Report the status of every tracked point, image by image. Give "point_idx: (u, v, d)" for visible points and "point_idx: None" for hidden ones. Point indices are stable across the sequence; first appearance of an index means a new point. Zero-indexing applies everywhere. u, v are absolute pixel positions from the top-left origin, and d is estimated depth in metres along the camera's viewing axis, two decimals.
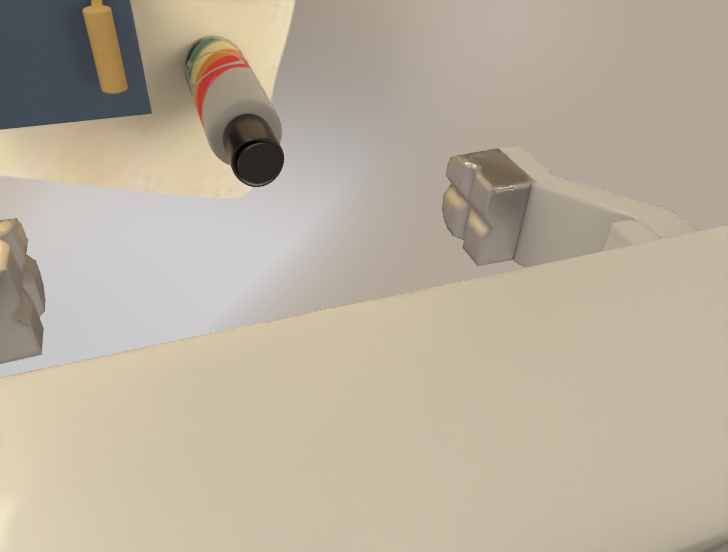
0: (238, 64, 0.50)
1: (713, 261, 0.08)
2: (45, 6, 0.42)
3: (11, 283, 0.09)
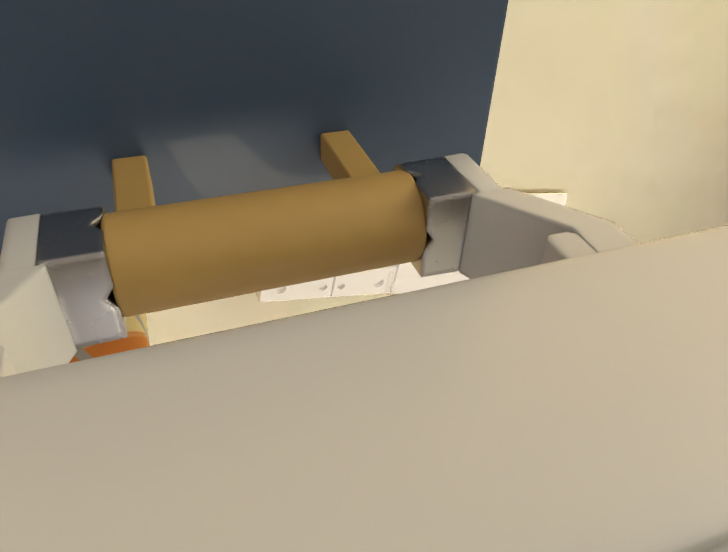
0: None
1: (713, 261, 0.08)
2: None
3: (107, 267, 0.09)
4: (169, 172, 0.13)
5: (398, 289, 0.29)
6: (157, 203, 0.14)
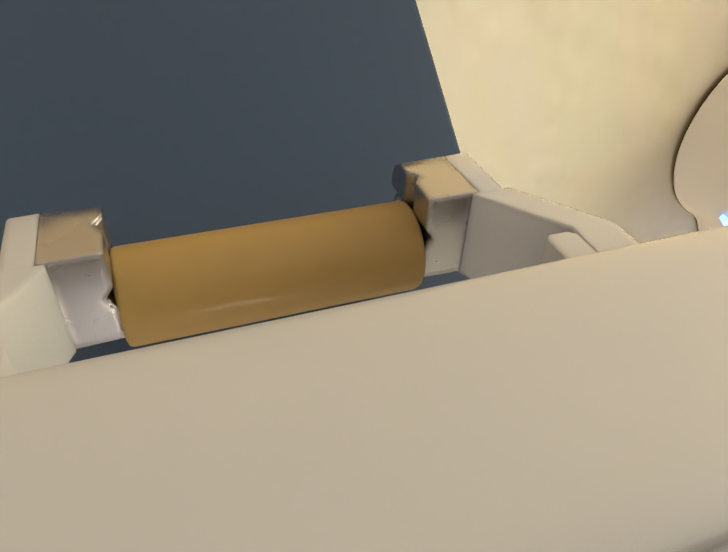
0: None
1: (713, 261, 0.08)
2: (317, 161, 0.16)
3: (106, 267, 0.09)
4: None
5: None
6: None
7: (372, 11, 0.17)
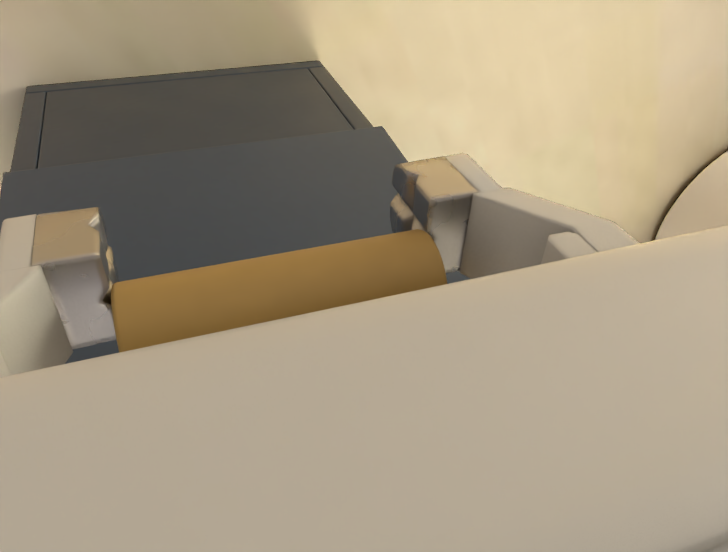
0: None
1: (713, 261, 0.08)
2: None
3: (103, 267, 0.09)
4: None
5: None
6: None
7: (379, 183, 0.20)
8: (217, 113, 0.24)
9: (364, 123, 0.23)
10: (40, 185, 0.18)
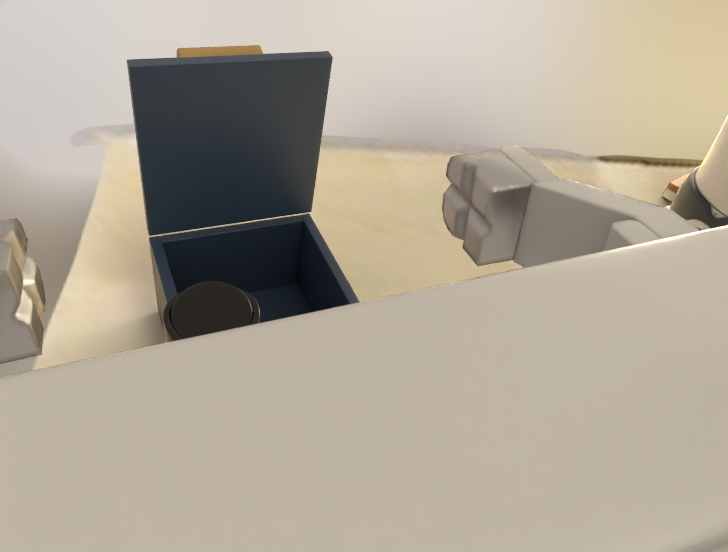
0: None
1: (713, 261, 0.08)
2: None
3: (11, 283, 0.09)
4: None
5: None
6: None
7: None
8: None
9: None
10: None
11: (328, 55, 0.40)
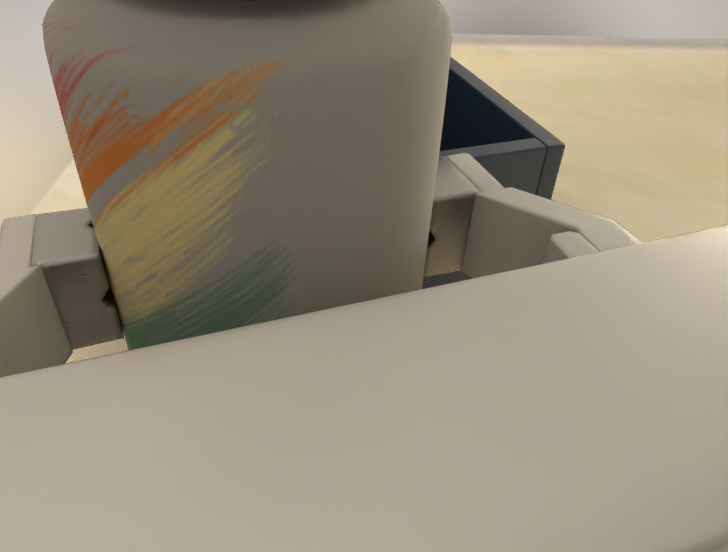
0: None
1: (714, 261, 0.08)
2: None
3: (102, 267, 0.09)
4: None
5: None
6: None
7: None
8: None
9: None
10: None
11: None
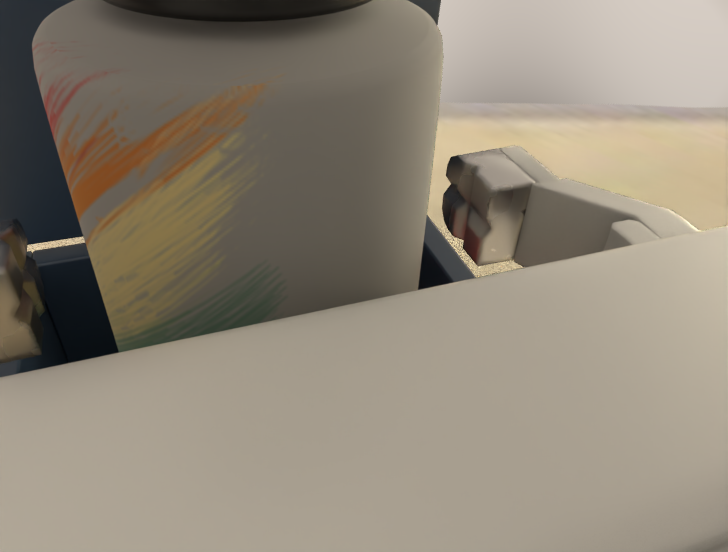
0: None
1: (713, 262, 0.08)
2: None
3: (11, 283, 0.09)
4: None
5: None
6: None
7: None
8: None
9: None
10: None
11: None
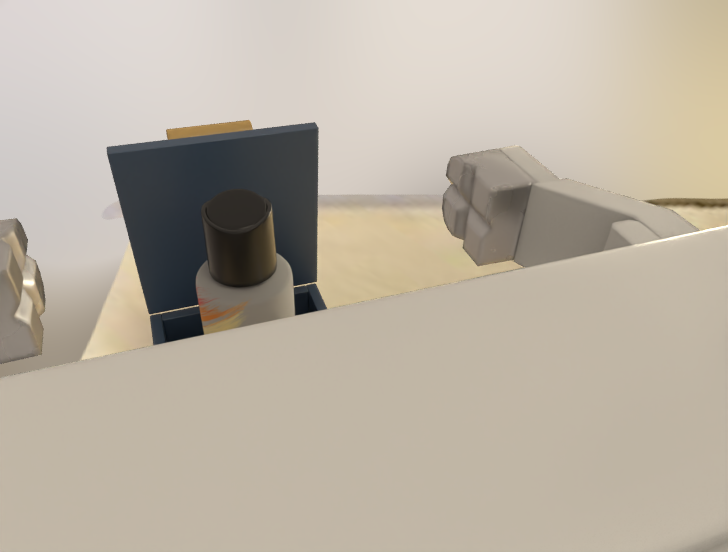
0: None
1: (713, 261, 0.08)
2: None
3: (11, 283, 0.09)
4: None
5: None
6: None
7: None
8: None
9: None
10: None
11: (314, 126, 0.39)
